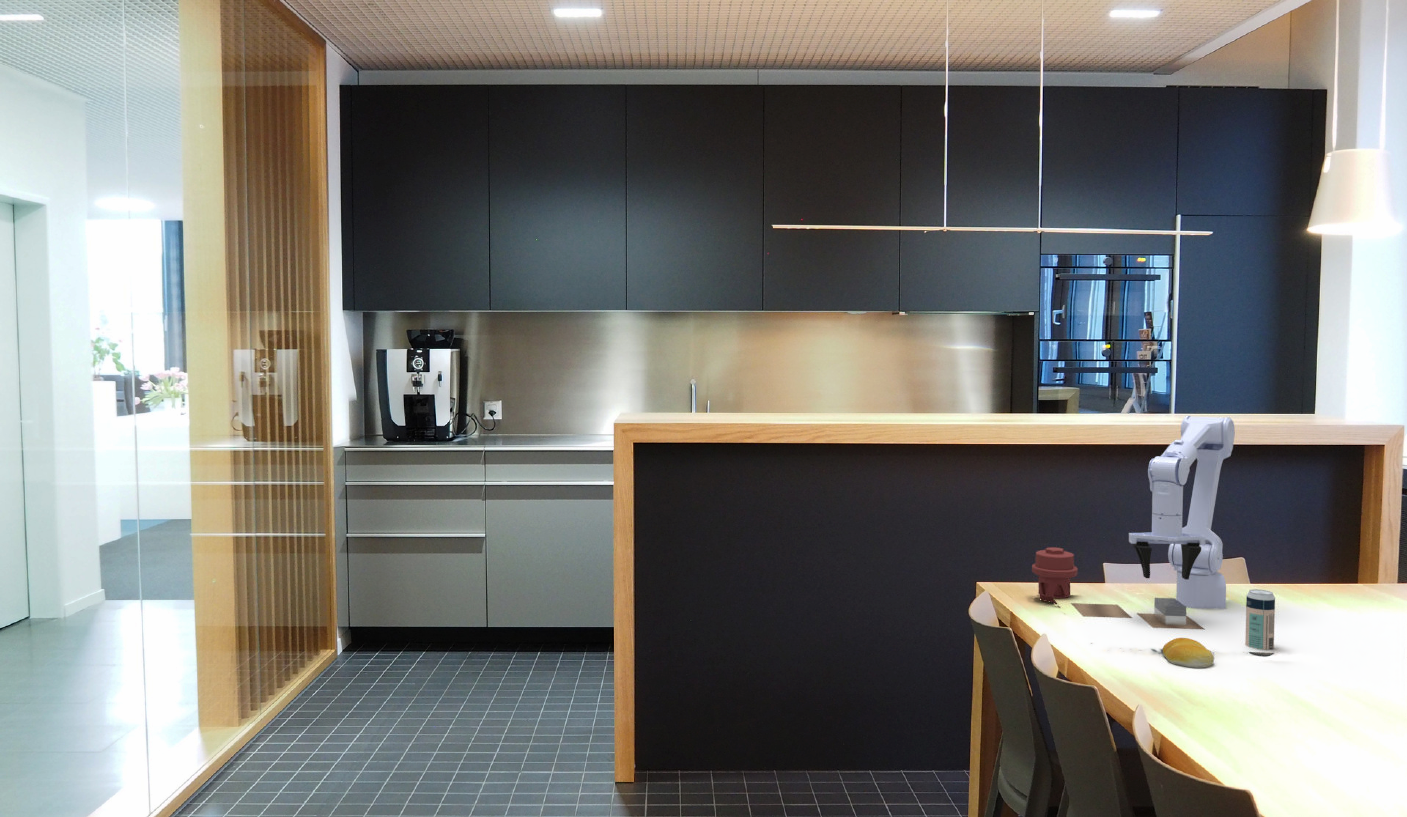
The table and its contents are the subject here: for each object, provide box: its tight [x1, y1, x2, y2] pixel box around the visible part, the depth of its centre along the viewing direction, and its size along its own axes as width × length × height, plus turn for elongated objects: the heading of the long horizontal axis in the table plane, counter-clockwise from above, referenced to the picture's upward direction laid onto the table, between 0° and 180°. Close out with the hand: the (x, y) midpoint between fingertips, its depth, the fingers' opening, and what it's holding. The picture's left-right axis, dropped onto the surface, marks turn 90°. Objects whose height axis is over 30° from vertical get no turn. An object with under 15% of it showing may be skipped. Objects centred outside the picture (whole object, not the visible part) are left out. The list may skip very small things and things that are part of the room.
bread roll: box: [1162, 637, 1215, 669], centre depth 176 cm, size 8×9×4 cm
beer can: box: [1244, 588, 1276, 658], centre depth 179 cm, size 5×5×12 cm
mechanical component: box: [1031, 546, 1079, 605], centre depth 219 cm, size 12×10×10 cm
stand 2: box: [1136, 612, 1206, 630], centre depth 197 cm, size 10×11×2 cm
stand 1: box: [1070, 602, 1133, 619], centre depth 206 cm, size 10×11×2 cm
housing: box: [1153, 597, 1187, 626], centre depth 197 cm, size 4×7×4 cm, turn 171°
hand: (1165, 577), depth 197 cm, fingers open, 7 cm apart
